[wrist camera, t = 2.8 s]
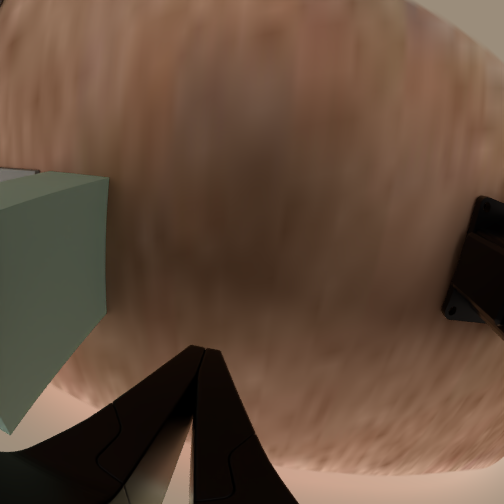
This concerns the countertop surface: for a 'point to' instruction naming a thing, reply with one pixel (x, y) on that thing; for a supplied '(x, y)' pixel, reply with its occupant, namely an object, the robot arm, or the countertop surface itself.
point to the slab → (47, 280)
